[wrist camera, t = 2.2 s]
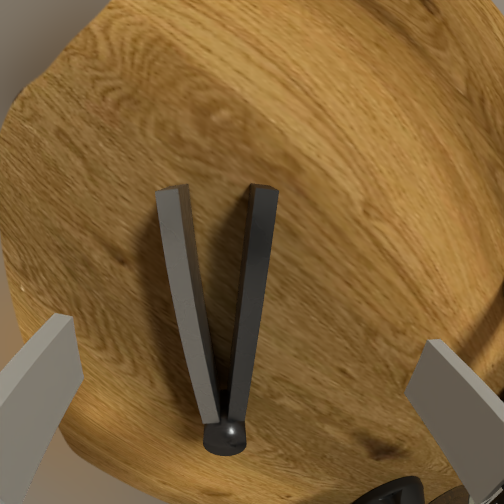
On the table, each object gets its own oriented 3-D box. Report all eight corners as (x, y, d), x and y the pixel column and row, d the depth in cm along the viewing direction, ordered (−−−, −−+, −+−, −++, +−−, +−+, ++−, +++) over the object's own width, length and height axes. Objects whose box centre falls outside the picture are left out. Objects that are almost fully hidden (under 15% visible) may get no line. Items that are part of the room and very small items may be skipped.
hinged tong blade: (220, 388, 29) (219, 422, 24) (205, 389, 29) (203, 423, 24) (188, 183, 24) (177, 188, 19) (170, 186, 24) (155, 191, 19)
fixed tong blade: (241, 416, 31) (244, 456, 25) (205, 413, 30) (202, 454, 25) (274, 186, 24) (287, 192, 19) (224, 180, 24) (222, 185, 18)
